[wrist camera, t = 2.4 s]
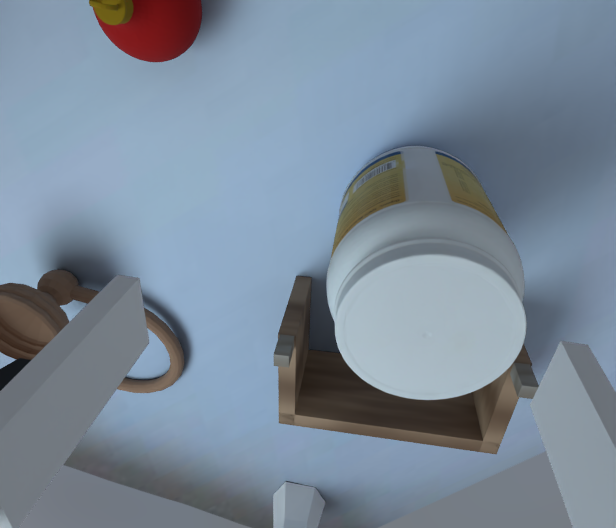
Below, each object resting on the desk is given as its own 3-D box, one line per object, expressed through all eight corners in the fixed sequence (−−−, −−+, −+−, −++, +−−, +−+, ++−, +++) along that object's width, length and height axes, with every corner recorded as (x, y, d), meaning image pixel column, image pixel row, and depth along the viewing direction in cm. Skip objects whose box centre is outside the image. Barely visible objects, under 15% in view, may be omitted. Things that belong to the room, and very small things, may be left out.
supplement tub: (346, 271, 43) (327, 409, 28) (335, 147, 37) (303, 242, 22) (478, 268, 40) (530, 415, 26) (489, 135, 34) (565, 231, 20)
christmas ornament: (219, -41, 31) (158, -57, 23) (211, 65, 35) (156, 87, 26) (123, -64, 31) (26, -88, 23) (125, 45, 35) (43, 59, 26)
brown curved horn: (186, 391, 57) (196, 281, 46) (157, 453, 50) (160, 341, 39) (11, 342, 57) (-23, 219, 46) (-42, 397, 50) (-99, 269, 39)
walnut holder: (296, 275, 44) (271, 354, 34) (504, 297, 42) (541, 387, 32) (295, 357, 49) (273, 444, 40) (478, 380, 47) (502, 478, 38)
